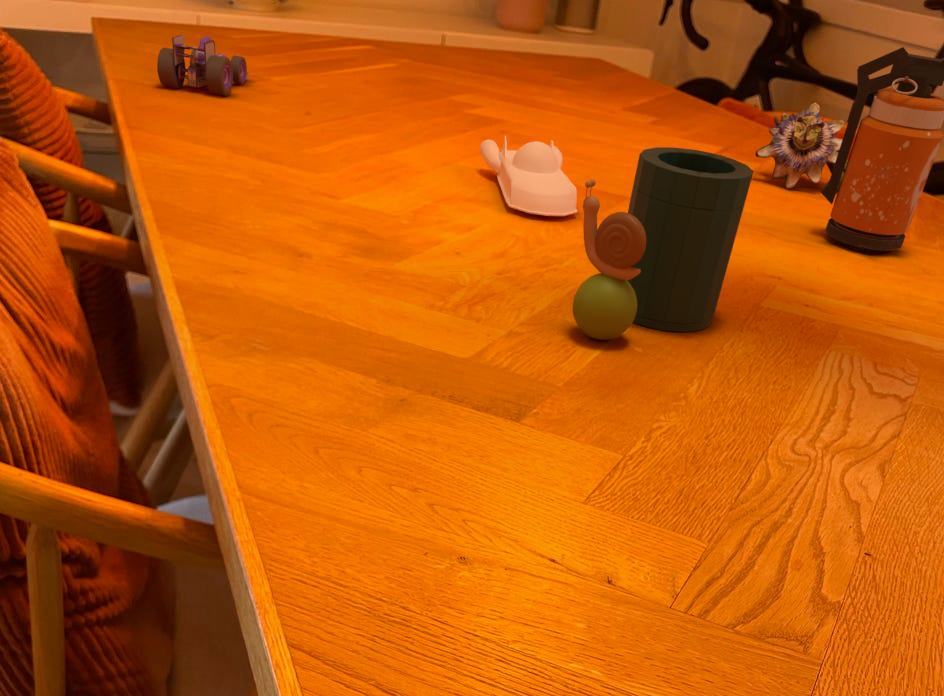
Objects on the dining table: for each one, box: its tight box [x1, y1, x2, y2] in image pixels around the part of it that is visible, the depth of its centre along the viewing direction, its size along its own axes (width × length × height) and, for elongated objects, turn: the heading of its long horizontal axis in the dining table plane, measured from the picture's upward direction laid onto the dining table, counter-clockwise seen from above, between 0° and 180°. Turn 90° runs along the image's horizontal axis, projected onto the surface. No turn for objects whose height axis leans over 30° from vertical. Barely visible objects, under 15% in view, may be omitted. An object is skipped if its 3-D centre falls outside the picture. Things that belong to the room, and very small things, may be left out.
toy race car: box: [156, 34, 249, 97], centre depth 144 cm, size 10×15×6 cm, turn 170°
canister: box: [820, 46, 944, 254], centre depth 112 cm, size 9×11×20 cm
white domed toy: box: [479, 135, 578, 217], centre depth 117 cm, size 10×20×6 cm, turn 7°
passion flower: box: [754, 102, 848, 192], centre depth 137 cm, size 11×11×12 cm
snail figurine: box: [572, 179, 646, 341], centre depth 82 cm, size 5×6×12 cm
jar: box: [627, 146, 754, 333], centre depth 88 cm, size 10×10×13 cm
